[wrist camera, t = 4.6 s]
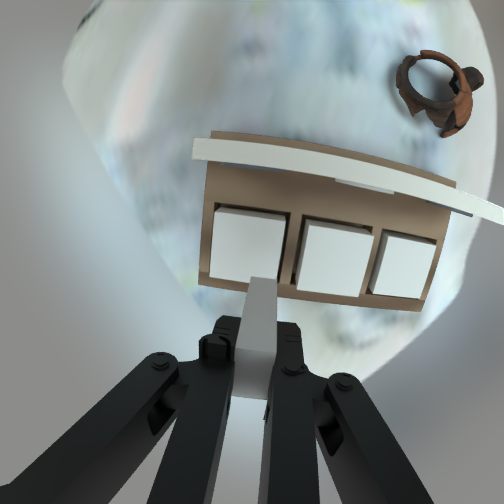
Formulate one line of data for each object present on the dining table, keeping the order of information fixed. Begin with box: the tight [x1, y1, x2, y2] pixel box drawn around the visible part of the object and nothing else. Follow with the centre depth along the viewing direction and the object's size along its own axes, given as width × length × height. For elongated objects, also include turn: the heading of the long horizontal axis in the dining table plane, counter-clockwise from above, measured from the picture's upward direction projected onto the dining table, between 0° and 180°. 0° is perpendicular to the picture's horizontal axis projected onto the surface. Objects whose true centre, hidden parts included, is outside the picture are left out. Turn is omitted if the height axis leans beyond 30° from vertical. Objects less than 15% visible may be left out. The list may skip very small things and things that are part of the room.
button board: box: [198, 131, 456, 312], centre depth 27 cm, size 15×25×4 cm, turn 83°
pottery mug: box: [396, 50, 484, 138], centre depth 20 cm, size 12×10×8 cm
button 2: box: [367, 230, 436, 299], centre depth 26 cm, size 6×6×3 cm
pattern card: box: [192, 138, 504, 225], centre depth 18 cm, size 2×22×10 cm, turn 83°
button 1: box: [209, 207, 286, 283], centre depth 25 cm, size 6×6×3 cm
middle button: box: [295, 219, 374, 297], centre depth 25 cm, size 6×6×3 cm
